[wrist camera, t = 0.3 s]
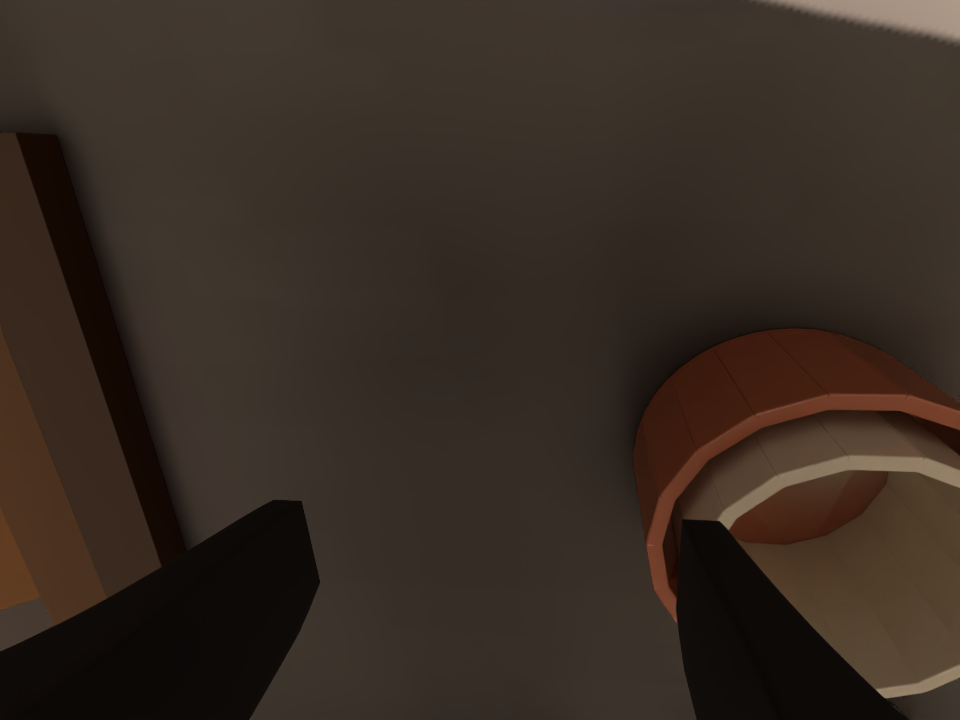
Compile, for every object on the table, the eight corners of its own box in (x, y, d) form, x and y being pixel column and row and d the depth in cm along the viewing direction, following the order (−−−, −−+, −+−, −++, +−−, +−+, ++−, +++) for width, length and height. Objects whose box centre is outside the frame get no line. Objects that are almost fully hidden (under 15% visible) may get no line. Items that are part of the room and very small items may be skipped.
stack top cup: (874, 551, 20) (993, 717, 14) (655, 538, 21) (682, 683, 15) (921, 355, 17) (1092, 462, 11) (666, 355, 18) (703, 450, 13)
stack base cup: (900, 573, 20) (996, 703, 15) (627, 556, 22) (640, 666, 17) (966, 325, 16) (1116, 396, 12) (636, 329, 18) (653, 391, 14)
